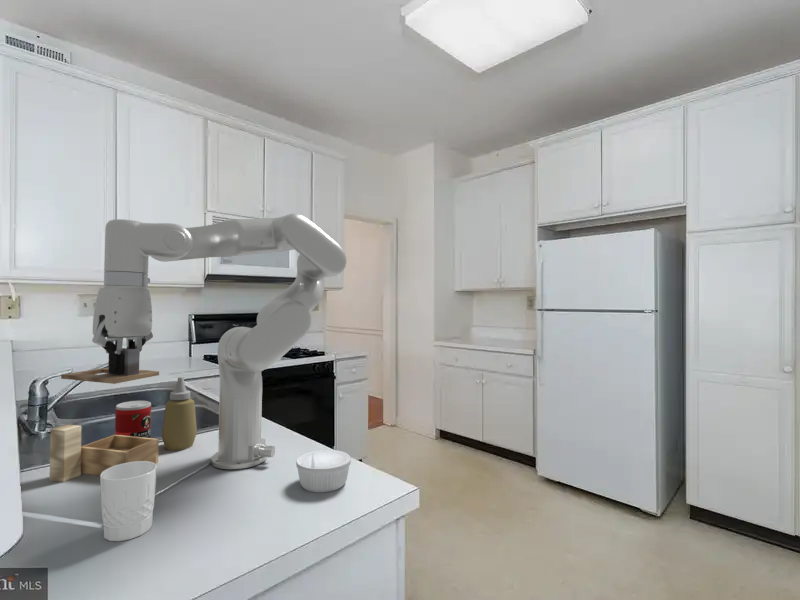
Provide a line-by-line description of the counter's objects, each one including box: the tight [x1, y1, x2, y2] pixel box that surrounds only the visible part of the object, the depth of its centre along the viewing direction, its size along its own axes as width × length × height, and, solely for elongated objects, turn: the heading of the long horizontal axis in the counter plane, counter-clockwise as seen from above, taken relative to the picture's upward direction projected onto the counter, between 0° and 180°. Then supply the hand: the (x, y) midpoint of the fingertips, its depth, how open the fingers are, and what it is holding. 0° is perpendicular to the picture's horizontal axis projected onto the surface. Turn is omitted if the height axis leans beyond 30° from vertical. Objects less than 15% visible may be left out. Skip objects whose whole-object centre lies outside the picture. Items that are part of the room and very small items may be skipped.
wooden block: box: [49, 424, 82, 483], centre depth 89 cm, size 4×4×11 cm
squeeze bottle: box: [161, 376, 198, 452], centre depth 109 cm, size 8×8×18 cm
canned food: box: [114, 400, 152, 438], centre depth 109 cm, size 8×8×11 cm
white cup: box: [99, 461, 158, 542], centre depth 70 cm, size 8×8×10 cm
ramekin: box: [295, 449, 352, 493], centre depth 90 cm, size 11×11×5 cm
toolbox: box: [81, 434, 160, 476], centre depth 94 cm, size 12×9×6 cm
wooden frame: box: [60, 347, 160, 385], centre depth 87 cm, size 13×10×6 cm
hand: (123, 371), depth 87 cm, fingers closed on wooden frame, 2 cm apart
